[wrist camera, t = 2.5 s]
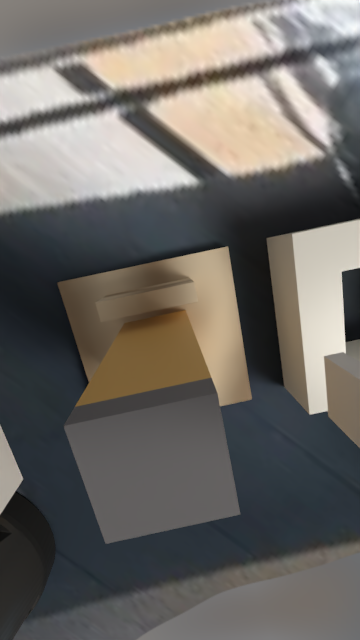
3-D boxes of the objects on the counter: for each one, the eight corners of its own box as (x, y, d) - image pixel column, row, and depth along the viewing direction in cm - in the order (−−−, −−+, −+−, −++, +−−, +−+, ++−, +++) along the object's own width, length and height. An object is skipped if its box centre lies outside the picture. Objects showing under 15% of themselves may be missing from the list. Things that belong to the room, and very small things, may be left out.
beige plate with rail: (106, 424, 22) (94, 459, 18) (61, 281, 19) (37, 287, 15) (248, 394, 22) (265, 422, 18) (225, 246, 19) (240, 244, 16)
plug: (139, 378, 20) (105, 543, 9) (124, 323, 19) (63, 426, 8) (197, 366, 20) (240, 514, 9) (185, 309, 19) (217, 392, 8)
